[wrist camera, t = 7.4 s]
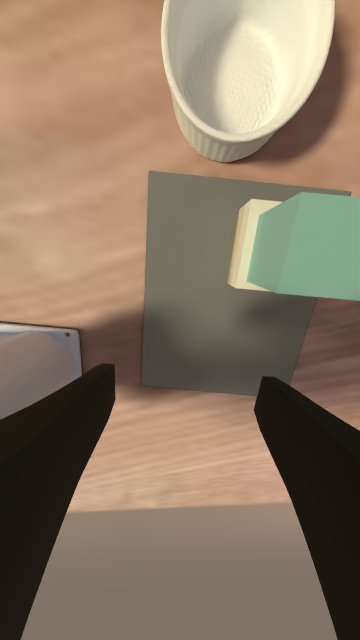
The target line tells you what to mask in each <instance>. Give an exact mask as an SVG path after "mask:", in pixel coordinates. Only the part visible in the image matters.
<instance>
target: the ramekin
mask: <svg viewBox="0 0 360 640" xmlns="http://www.w3.org/2000/svg"><path fill="white" fill-rule="evenodd" d="M334 19H335V0H164V5H163V13H162V24H161V43H162V54H163V62H164V67H165V72H166V76H167V80H168V83H169V86H170V89H171V93H172V99H173V105H174V110H175V114H176V118H177V121H178V124H179V127H180V129H181V131H182V133H183V135H184V137H185V138H186V140H187V141H188V143H189V144H190V145H191V146H192V147H193V148H194V150H196V151H197V152H198V153H199V154H201V155H202V156H204V157H206V158H208V159H211V160H213V161H218V162H231V161H235V160H239V159H242V158H244V157H246V156H249V155H251V154H252V153H254V152H255V151H257V150H258V149H260V148H261V147H262V146H263V145H264V144H265V143H266V142H267V141H268V140H269V139H270V138H271V136H272V135H273V134H274V133H275V132H276V131H277V130H278V129H279V128H281V127H282V126H283V125H284V124H286V123H287V122H288V121H289V120H290V119H291V118H292V117H293V116H294V115H295V114H296V113H297V112H298V111H299V109H300V108H301V107H302V106H303V104H304V103H305V102H306V100H307V99H308V97H309V96H310V94H311V92H312V91H313V89H314V87H315V86H316V84H317V82H318V80H319V78H320V76H321V74H322V71H323V68H324V66H325V63H326V60H327V57H328V53H329V49H330V45H331V40H332V36H333V29H334Z"/></svg>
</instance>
